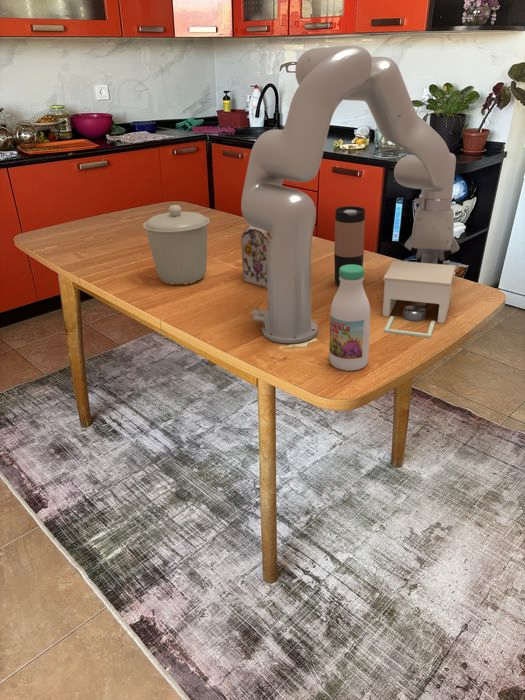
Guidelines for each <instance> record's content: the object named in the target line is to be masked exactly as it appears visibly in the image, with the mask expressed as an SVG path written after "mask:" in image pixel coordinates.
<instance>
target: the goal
mask: <svg viewBox="0 0 525 700" xmlns="http://www.w3.org/2000/svg"><path fill="white" fill-rule="evenodd" d="M394 319H395V316H392V315H391V316H389V318H388V321H387V323H386V324H385V327H384V329H383V332H384V333H391V334H397V335H398V334H400V335H406V336H413V337H423V338H429V339H431V338H432V334H433V330H434V327H435V325H436V320H431V321H430V325H429V327H428V331H427V333H425V332H419V331H418V332H416V331H409V330H401V329H395V328H394V329H393V328H391V326H392V324H393V321H394Z"/></svg>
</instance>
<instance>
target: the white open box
mask: <svg viewBox="0 0 525 700" xmlns="http://www.w3.org/2000/svg"><path fill="white" fill-rule="evenodd" d="M455 271H456V265H453V264H444V263H443V264H430V263H418V262H417V261H407V260H406V261H403V260H393V261H392V262H391V264H390V266H389V267H388V269H387V270H386V273H385V274H384V276H383V277H382V278H383V281H384V289H383V301H382V302H383V303H382V304H383V305H382V317H389V318H390V317H391V316H390V315H391V313H392V311H393V310H394V307H395V305H396V303H397V301H408V302H412V301H415V302H425V304H437V305H438V306H439V307H438V315H437V323H439V324H440V323H441V324H445V323H446V322H445V321H446V319H447V315H448V311H449V307H450V303H451V296H452V295H451V294H452V286H453V277H454V275H455Z"/></svg>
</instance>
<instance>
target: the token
mask: <svg viewBox="0 0 525 700" xmlns="http://www.w3.org/2000/svg"><path fill="white" fill-rule="evenodd" d="M426 311H427V310H426V308H425V307H424V306H417V305H407V306H404V307H403V310H402V318H403V319H404V320H406V321H409V322H415V323H416V322H422V321H424V320H425V319H426Z"/></svg>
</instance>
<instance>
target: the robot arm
mask: <svg viewBox="0 0 525 700" xmlns="http://www.w3.org/2000/svg"><path fill="white" fill-rule="evenodd" d="M295 80H296V82H297V84H298V87H297V88H296V90H295V92H294V94H293V97H292V98H291V102H290V104H289V107H288V108H289V110H288V112H287V116H286V120H285V123H284V127H283V129H277V128H276V129H274V128H273V129H269V130H267V131H264V132H263V133H262V134H260V135H259V136H258V137H257V139H256V140H255V142H254V144H253V146H252V148H251V151H250V154H249V160H248V164H247V168H246V174H245V178H244V185H243V188H242V194H241V200H240V201H241V202H240V204H241V205H240V208H241V214H242V217H243V219H244V220H245V222H246V223H247V224H248V225H249V224H250V225H252V226H254V227H256V228H259V229H262V230H265V231H268V232H271V233H272V238H271V241H270V243H269V246H268V249H267V253H266V267H267V288H266V289H267V308H268V309H266V310H264V309H263V310H262V309H258V308H253V310H252V312H251V313H252V317H253V319H252V321H253V322H258V323H259V322H261V323H263V325H262V326H261V331H262V333H261V334H263V337H264V338H266V339H267V340H269V341H272V342H274V343H275V342H276V343H281V344H296V343H303V342H306V341H309V340H312V339H313V338H315V337H316V336H317V334H318V333H319V325H318V324H317V322H316V321H314V320H313V319H312V243H313V242H312V241H313V234H314V230H315V226H316V225H315V224H316V220H317V219H316V218H317V210H316V206H315V203H314V201H313V199H312V198H311V197H310V196H309V195H308V194H307V193H305V192H303V191H301V190H299V189H296V188H291V187H287V186H283V183H284V180H285V181H288V182H295V183H307V182H310V181H312V180H313V179H314V178H316V176H317V174H318V172H319V170H320V167H321V164H322V161H323V155H324V151H325V148H326V147H325V146H326V143H327V137H328V135H329V130H330V126H331V121H332V119H333V116H334V113H335V111H336V110H337V107H339V105H340V104H341V103H342V102H343V101H357V102H358V101H360V102H361V101H362V102H365V103H366V105H367V107H368V109H369V111H370V114H371V115H372V117H373V119H374V122H375V124H376V126H377V128H378V131H379V133H380V135H381V136H382V137H383V138H384V139H385V140H387V141H388V142H390V143H391V144H393V145H395V146H397V147H399V148H401V149H403V150H405V151H407V152H409V153H411V155H409V154H408V155H406V156H403V157H401V158H400V159H399V160H398V161H397V163H395V166H394V169H393V177H394V179H395V181H396V183H397V184H399V185H400V186H401V187H405V188H408V189H409V188H410V189H414V190H421V193H420V197H419V198H415V199H414V204H416V205H418V206H419V207H418V208H417V209H416V211H415V214H414V219H413V226H412V231H411V232H412V233H411V235H410V237H409V238H408V239H407V240H406V242H405V243H404V244H403V245H404V248H406V249H408V250H409V251H410V252H411V253H412V254H413V256H415V258H416V262H418V263H421V259H422V249H432V250H439V258H438V261H437V264H443V265H444V262H445V261H444V260H446V258H448V257H449V256H450V255H452V254H454V253H456V252H458V251H460V246H459V243H458V241H457V240H456V238H455V236H454V231H455V229H454V228H455V225H454V224H455V216H454V215H455V214H454V209H453V208H452V201H453V191H454V183H455V182H454V181H455V174H456V173H455V171H456V166H457V165H456V164H457V157H456V155H455V154H454V153H452V152H450V150H449V147H448V145H447V143H446V141H445V140H444V139H443V138H442V136H441V135H440V134H439V133H438V132H437V131H436V130H435V129H434V128H433V127H432V126H431V125H430V124H428V123H427V122H426V120H424V119H423V118H422V117H421V116H420V115H418V114H417V111H416V109H415V106H414V104H413V102H412V101H413V100H412V98H411V96H410V94H409V92H408V89H407V86H406V83H405V80H404V78H403V76H402V73H401V71H400V67H399V66H398V64H397V63H396V62H395V61H394V60H393V59H392V58H390V57H387V56H372V55H371V54H370V52H369V51H368V49H366V48H365V47H362V46H359V45H337V46H328V47H325V46H324V47H315V48H310V49H307V50H306V51H303V53H302V54H301V55H300V57H299V58H298V59H297V62H296V64H295Z"/></svg>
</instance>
